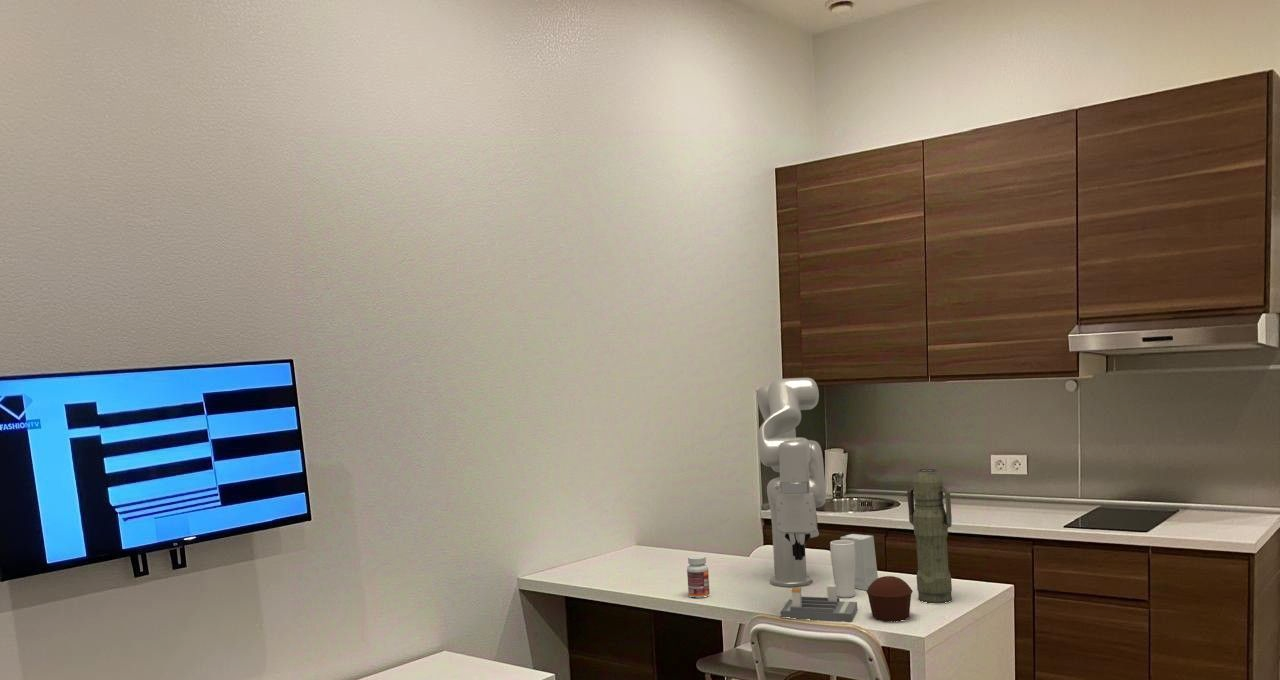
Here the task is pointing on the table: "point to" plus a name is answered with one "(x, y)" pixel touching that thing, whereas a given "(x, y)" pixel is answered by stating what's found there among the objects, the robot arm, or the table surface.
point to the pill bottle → (697, 576)
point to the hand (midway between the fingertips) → (799, 559)
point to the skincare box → (863, 560)
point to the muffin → (889, 599)
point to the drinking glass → (843, 567)
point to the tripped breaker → (796, 597)
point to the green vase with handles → (931, 535)
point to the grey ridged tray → (822, 608)
